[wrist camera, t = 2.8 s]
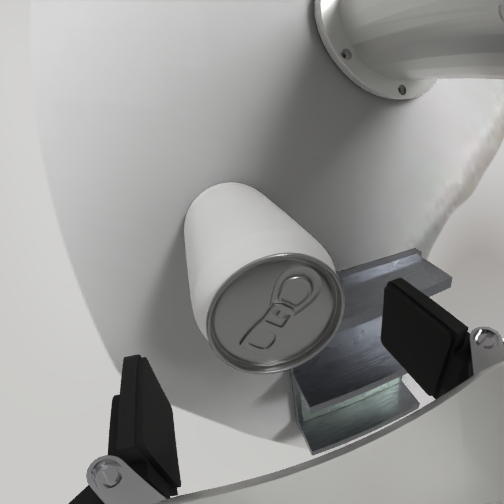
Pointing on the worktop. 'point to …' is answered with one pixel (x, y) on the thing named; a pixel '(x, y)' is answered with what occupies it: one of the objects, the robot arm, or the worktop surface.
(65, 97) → the worktop surface
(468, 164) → the worktop surface
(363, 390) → the grey ribbed shelf
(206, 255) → the can
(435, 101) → the worktop surface
